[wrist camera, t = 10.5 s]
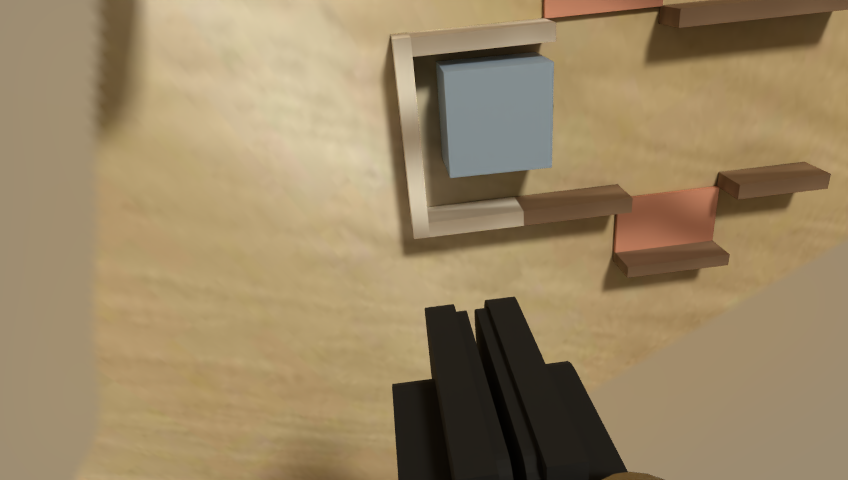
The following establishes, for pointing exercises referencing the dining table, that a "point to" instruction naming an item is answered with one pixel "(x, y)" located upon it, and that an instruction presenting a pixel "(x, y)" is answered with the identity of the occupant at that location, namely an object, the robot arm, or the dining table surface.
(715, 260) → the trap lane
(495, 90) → the slate block
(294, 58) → the dining table surface
